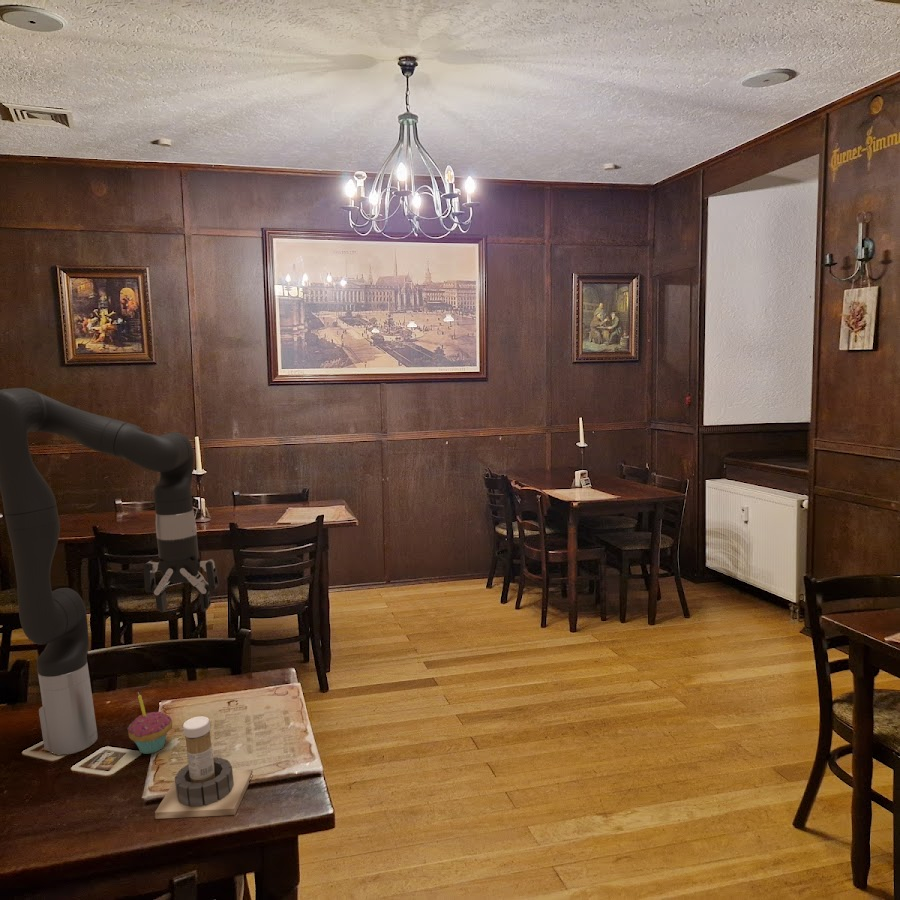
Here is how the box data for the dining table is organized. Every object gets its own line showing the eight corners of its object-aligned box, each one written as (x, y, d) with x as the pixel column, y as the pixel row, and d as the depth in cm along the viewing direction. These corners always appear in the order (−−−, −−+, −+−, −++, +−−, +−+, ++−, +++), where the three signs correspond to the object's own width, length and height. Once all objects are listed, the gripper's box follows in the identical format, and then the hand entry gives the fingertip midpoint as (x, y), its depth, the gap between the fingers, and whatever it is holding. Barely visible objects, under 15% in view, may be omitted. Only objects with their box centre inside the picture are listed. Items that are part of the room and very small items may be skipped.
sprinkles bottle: (215, 779, 141) (207, 712, 139) (218, 792, 137) (211, 723, 135) (189, 787, 139) (181, 719, 137) (192, 800, 135) (184, 730, 133)
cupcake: (121, 755, 154) (113, 700, 152) (150, 734, 161) (144, 681, 160) (155, 761, 151) (147, 705, 149) (183, 739, 158) (177, 685, 157)
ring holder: (155, 818, 132) (152, 794, 131) (180, 778, 144) (177, 756, 143) (234, 814, 132) (232, 790, 131) (252, 775, 144) (250, 752, 143)
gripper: (133, 539, 147) (141, 618, 150) (205, 537, 147) (213, 616, 149) (149, 529, 154) (157, 604, 157) (218, 527, 154) (225, 602, 157)
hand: (184, 610), depth 153 cm, fingers open, 8 cm apart
